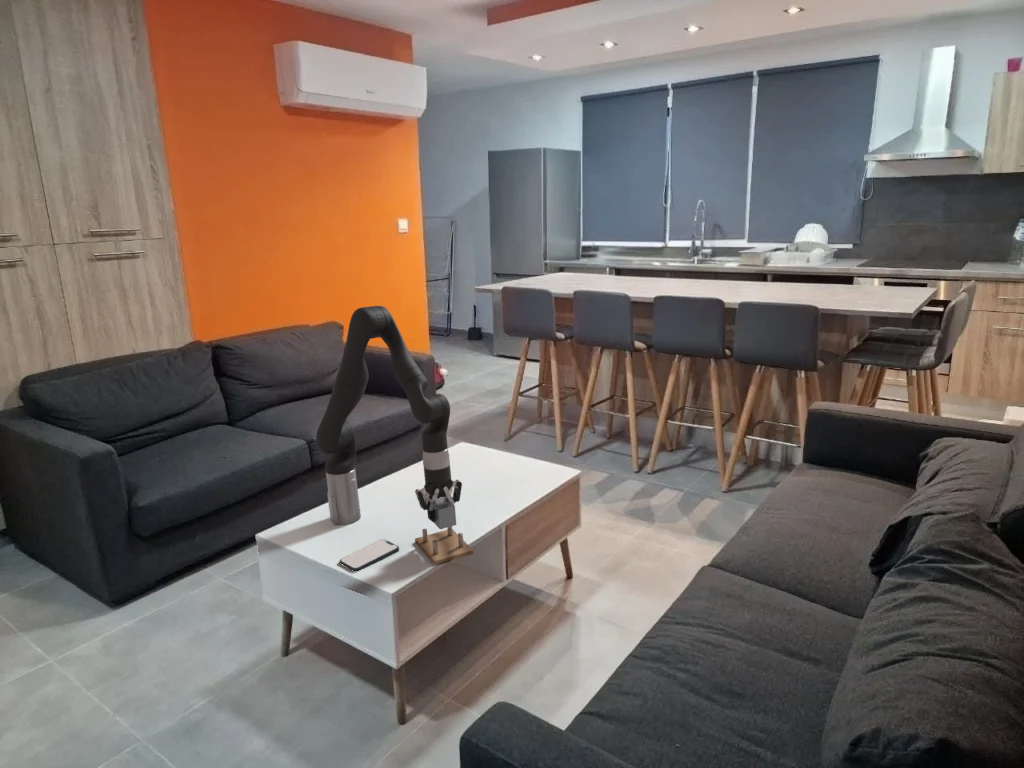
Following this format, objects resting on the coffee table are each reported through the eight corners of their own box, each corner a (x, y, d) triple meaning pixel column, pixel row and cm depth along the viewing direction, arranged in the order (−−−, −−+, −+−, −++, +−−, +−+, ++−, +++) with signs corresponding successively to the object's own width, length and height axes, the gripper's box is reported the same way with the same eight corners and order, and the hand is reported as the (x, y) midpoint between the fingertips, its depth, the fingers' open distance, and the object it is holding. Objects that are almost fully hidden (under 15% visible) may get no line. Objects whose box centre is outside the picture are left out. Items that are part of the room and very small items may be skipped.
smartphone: (355, 575, 186) (401, 551, 197) (354, 569, 185) (400, 546, 196) (337, 565, 192) (383, 542, 203) (337, 560, 191) (382, 538, 202)
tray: (434, 565, 187) (432, 548, 186) (415, 542, 201) (413, 526, 200) (473, 553, 193) (472, 537, 191) (452, 532, 206) (450, 516, 205)
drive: (440, 529, 189) (438, 509, 188) (427, 516, 198) (425, 497, 196) (456, 524, 191) (454, 504, 190) (443, 512, 200) (441, 493, 199)
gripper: (417, 473, 184) (422, 529, 188) (464, 462, 190) (469, 517, 195) (408, 465, 191) (414, 519, 195) (454, 454, 197) (459, 507, 201)
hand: (441, 518), depth 195 cm, fingers closed on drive, 5 cm apart
